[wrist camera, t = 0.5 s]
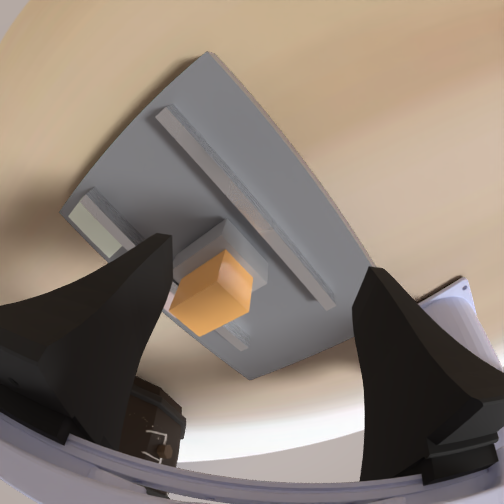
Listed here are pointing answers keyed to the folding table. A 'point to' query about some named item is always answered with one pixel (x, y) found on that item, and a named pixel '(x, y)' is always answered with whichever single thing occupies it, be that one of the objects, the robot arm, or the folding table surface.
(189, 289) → the handle
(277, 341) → the board
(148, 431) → the wooden barrel
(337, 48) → the folding table surface
